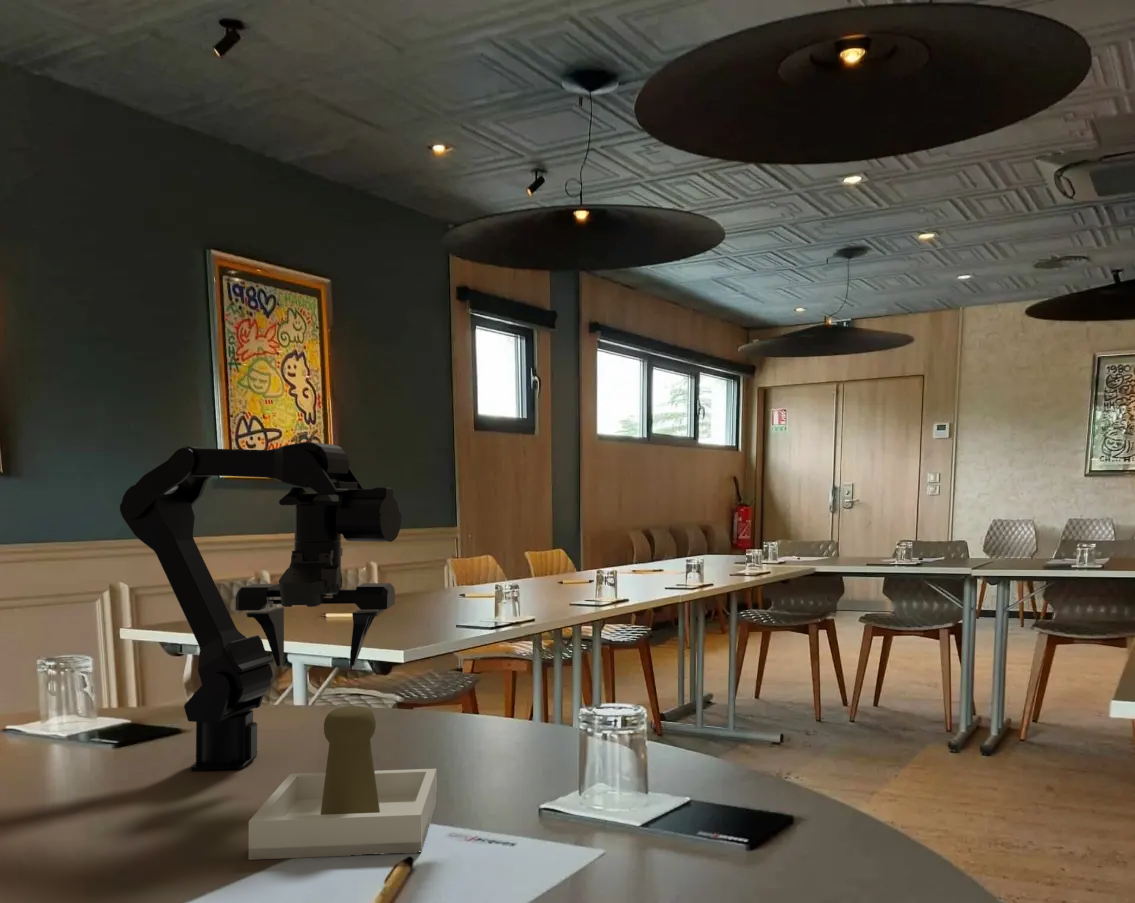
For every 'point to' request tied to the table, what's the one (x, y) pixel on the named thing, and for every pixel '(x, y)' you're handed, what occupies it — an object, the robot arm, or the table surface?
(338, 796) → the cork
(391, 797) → the tray
